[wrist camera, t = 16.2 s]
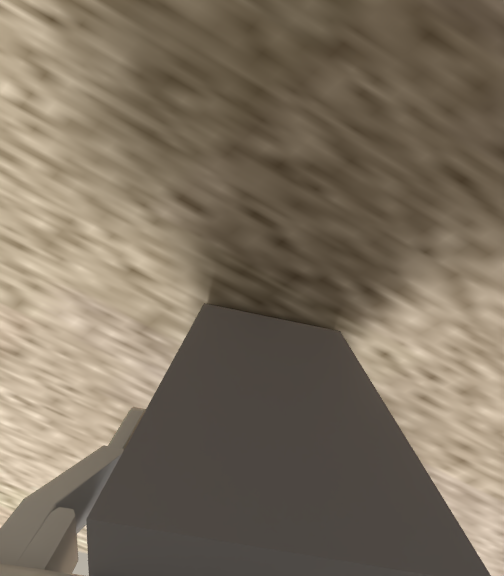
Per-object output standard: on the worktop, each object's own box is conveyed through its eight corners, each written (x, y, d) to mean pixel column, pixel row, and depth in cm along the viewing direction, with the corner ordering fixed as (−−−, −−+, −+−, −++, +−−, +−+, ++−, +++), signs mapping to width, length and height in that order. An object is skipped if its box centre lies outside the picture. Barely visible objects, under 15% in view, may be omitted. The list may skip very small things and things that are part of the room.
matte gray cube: (340, 331, 12) (497, 586, 4) (301, 430, 15) (353, 714, 7) (204, 303, 12) (86, 518, 4) (187, 408, 15) (93, 678, 6)
